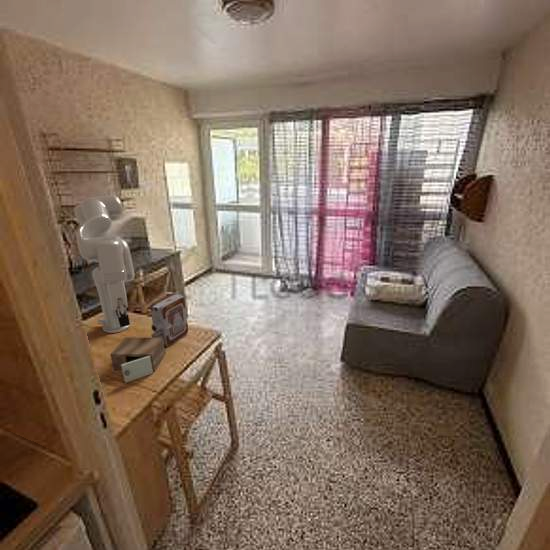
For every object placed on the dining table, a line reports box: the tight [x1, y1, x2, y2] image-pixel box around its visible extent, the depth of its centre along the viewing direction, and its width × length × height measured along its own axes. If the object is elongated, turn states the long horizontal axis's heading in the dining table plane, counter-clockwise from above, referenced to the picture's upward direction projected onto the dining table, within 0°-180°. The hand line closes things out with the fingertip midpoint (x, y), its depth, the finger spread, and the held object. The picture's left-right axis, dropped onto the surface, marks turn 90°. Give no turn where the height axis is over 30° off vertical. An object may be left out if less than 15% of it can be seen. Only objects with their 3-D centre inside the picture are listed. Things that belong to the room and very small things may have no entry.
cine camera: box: [149, 293, 189, 347], centre depth 144 cm, size 9×19×20 cm, turn 152°
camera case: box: [110, 336, 166, 373], centre depth 131 cm, size 16×12×8 cm
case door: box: [121, 356, 154, 383], centre depth 122 cm, size 10×2×8 cm, turn 123°
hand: (123, 320), depth 119 cm, fingers open, 9 cm apart
